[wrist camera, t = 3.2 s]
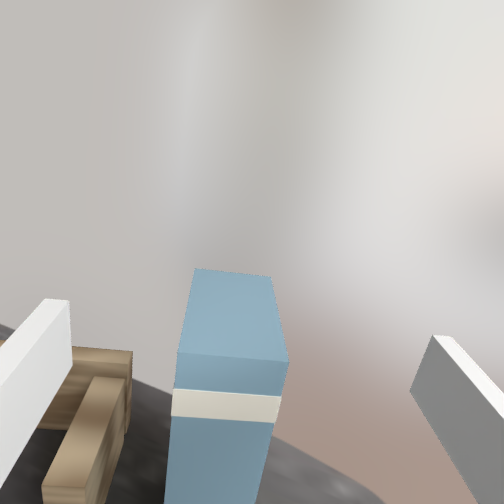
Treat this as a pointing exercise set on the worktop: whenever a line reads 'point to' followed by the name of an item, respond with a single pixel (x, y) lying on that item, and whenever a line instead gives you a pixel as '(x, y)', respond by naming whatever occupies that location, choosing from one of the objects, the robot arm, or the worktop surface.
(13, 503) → the worktop surface
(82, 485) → the oak shelf
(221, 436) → the book
